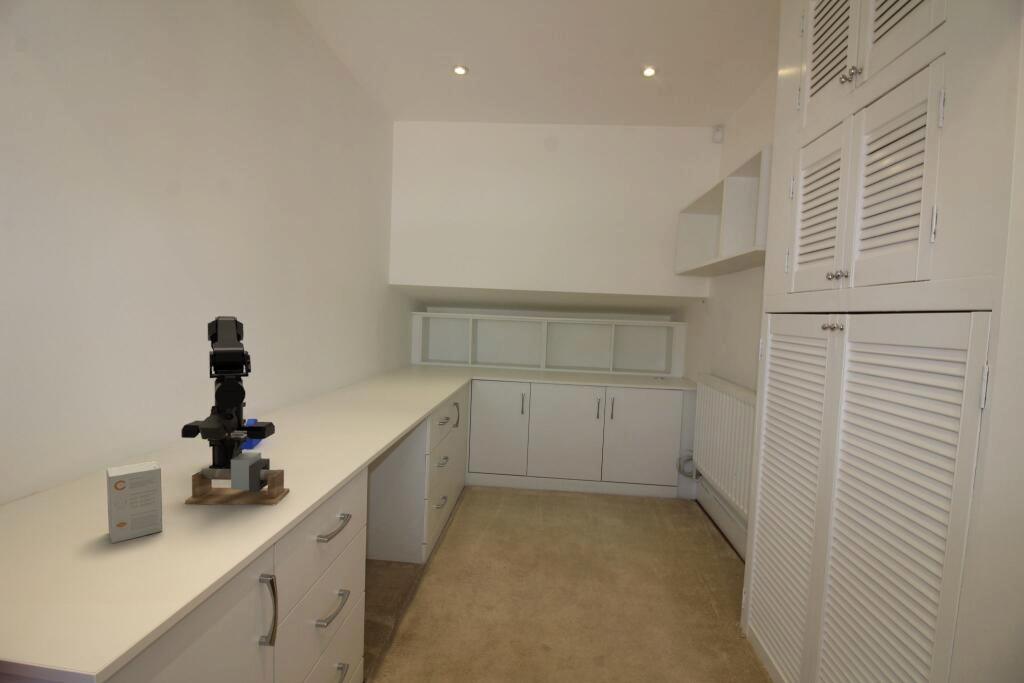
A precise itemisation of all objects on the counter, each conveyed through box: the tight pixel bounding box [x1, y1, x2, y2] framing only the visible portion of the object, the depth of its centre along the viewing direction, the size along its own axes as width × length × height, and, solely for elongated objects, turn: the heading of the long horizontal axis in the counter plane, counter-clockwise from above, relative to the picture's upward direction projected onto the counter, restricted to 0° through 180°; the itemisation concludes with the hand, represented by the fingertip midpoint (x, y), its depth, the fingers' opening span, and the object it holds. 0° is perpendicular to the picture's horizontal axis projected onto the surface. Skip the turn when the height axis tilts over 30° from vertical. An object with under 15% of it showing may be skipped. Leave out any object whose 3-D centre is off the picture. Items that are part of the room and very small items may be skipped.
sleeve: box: [230, 451, 262, 490], centre depth 115 cm, size 4×6×7 cm, turn 2°
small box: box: [106, 460, 163, 544], centre depth 96 cm, size 8×6×13 cm
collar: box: [249, 457, 271, 492], centre depth 115 cm, size 2×6×6 cm, turn 2°
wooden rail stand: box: [184, 467, 290, 506], centre depth 115 cm, size 20×8×7 cm, turn 92°
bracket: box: [241, 418, 263, 451], centre depth 161 cm, size 18×8×9 cm, turn 13°
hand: (229, 465), depth 115 cm, fingers closed
